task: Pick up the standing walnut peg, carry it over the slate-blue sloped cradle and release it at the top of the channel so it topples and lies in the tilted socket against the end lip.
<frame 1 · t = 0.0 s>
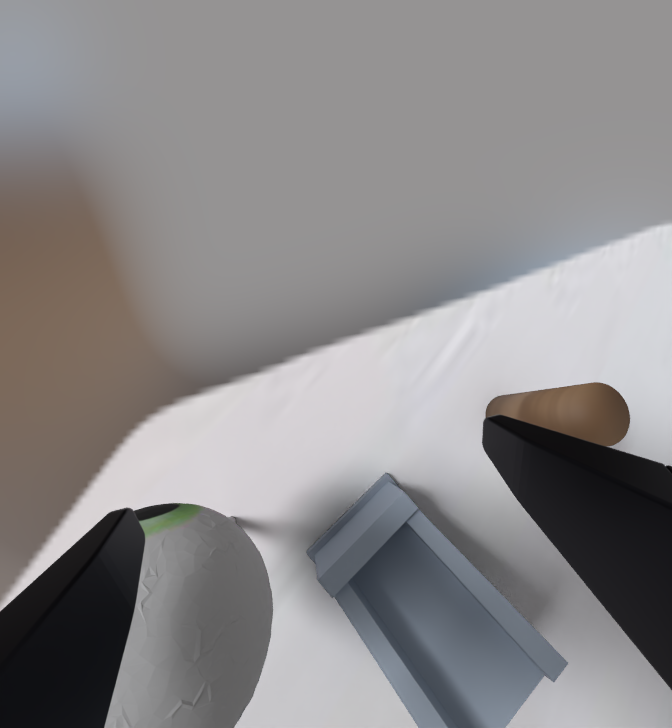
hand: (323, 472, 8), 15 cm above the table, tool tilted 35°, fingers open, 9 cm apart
cradle: (411, 584, 22), on the table
peg: (506, 417, 25), on the table
lollipop: (231, 521, 22), on the table
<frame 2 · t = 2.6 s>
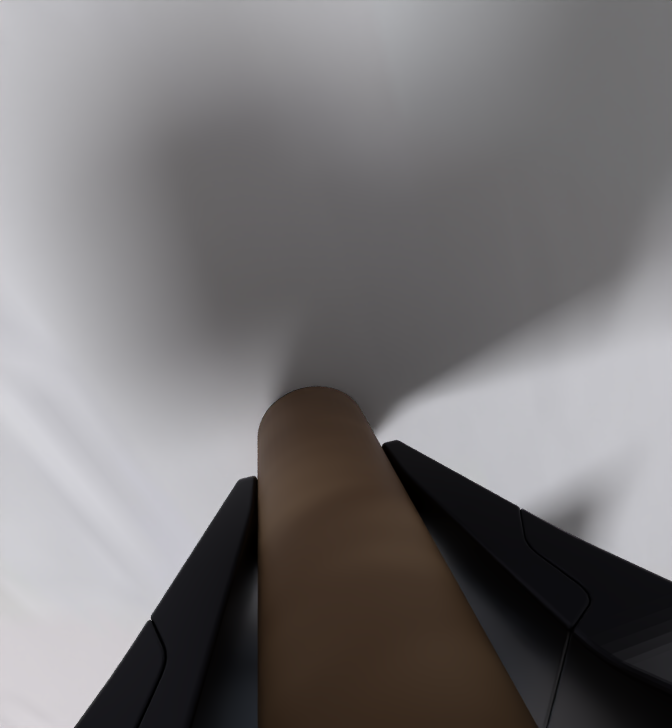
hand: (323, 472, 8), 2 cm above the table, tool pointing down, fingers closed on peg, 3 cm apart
peg: (313, 435, 10), on the table, touching gripper
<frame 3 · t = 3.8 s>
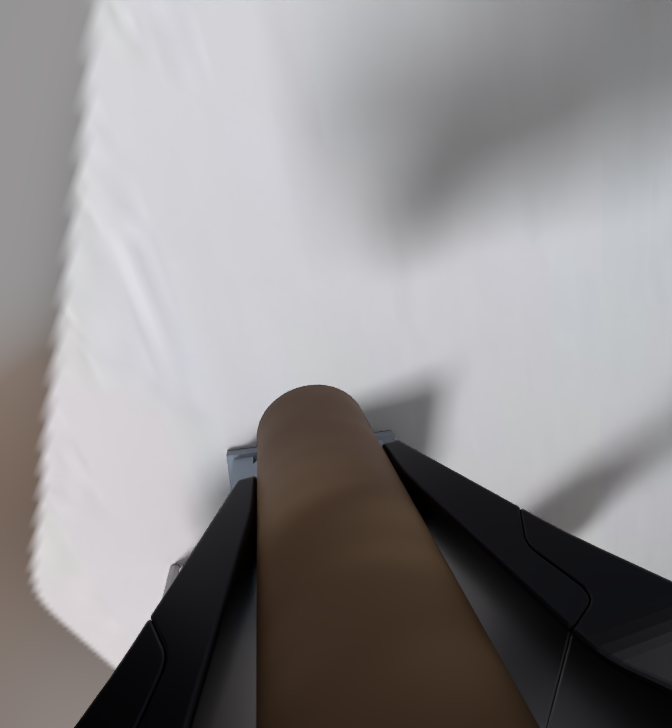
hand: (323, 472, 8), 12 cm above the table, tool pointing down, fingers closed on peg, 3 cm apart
cradle: (323, 480, 24), on the table
peg: (312, 433, 10), point 10 cm above the table, touching gripper
when the fingers open (9 cm above the table, at t = 5.3 s): peg drops 1 cm and tips over, resting on cradle.
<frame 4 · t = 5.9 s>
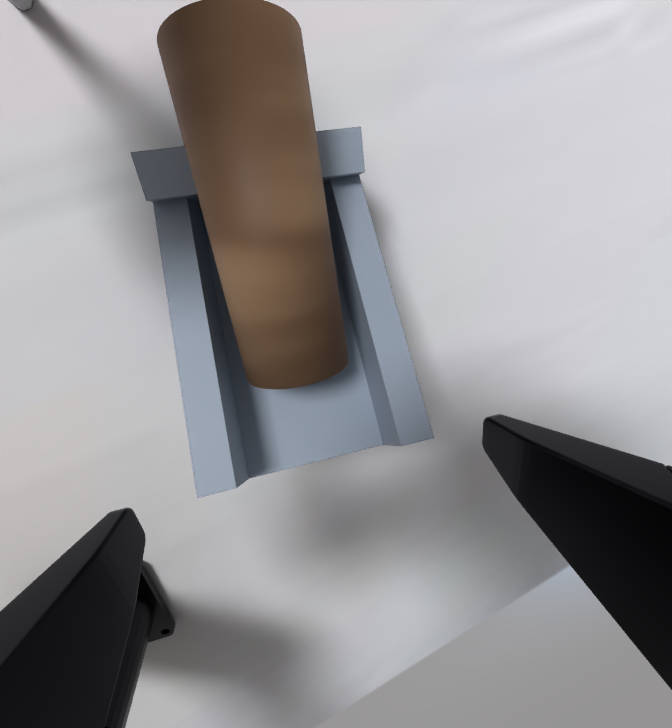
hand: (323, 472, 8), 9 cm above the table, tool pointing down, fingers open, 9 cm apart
cradle: (282, 307, 16), on the table
peg: (298, 366, 11), point 6 cm above the table, tilted 93°, touching cradle
lollipop: (23, 0, 11), on the table
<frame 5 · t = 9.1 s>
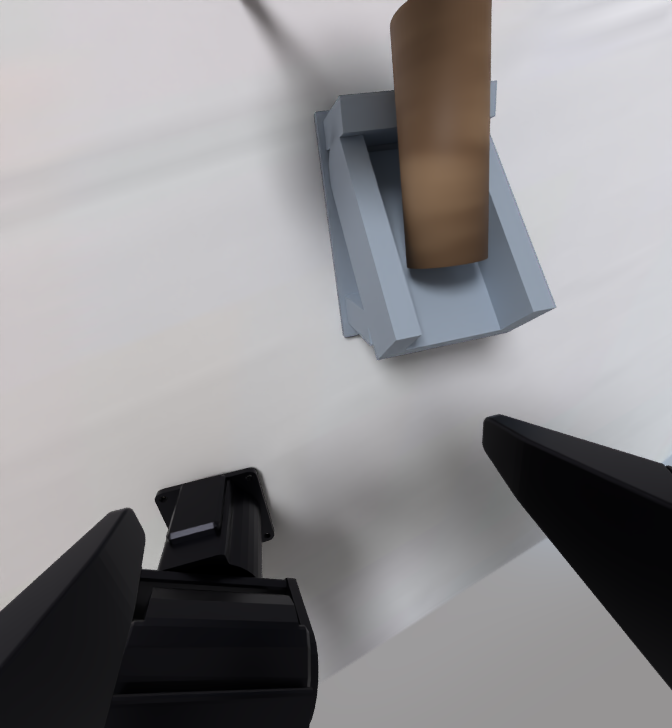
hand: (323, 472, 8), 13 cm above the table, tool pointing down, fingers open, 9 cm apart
cradle: (393, 241, 19), on the table
peg: (446, 262, 14), point 6 cm above the table, tilted 93°, touching cradle
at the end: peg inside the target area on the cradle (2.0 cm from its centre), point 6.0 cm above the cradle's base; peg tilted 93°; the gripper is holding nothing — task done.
